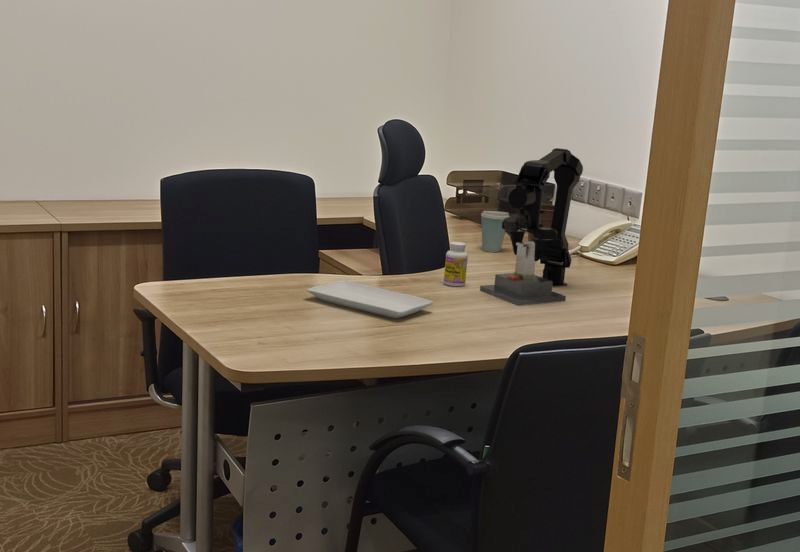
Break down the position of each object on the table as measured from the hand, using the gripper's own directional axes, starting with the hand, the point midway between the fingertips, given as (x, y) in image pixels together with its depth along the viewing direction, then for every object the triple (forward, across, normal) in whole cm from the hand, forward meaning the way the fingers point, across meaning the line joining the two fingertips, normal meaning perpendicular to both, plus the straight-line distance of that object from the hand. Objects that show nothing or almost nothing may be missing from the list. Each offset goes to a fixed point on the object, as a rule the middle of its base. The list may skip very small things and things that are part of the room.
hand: (526, 257), depth 274 cm
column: (+7, 0, 0) cm, 7 cm away
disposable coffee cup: (+12, -61, +36) cm, 72 cm away
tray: (+12, -3, -51) cm, 53 cm away
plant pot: (+12, -61, +61) cm, 87 cm away
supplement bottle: (+12, -18, -12) cm, 25 cm away
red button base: (+12, 0, 0) cm, 12 cm away
